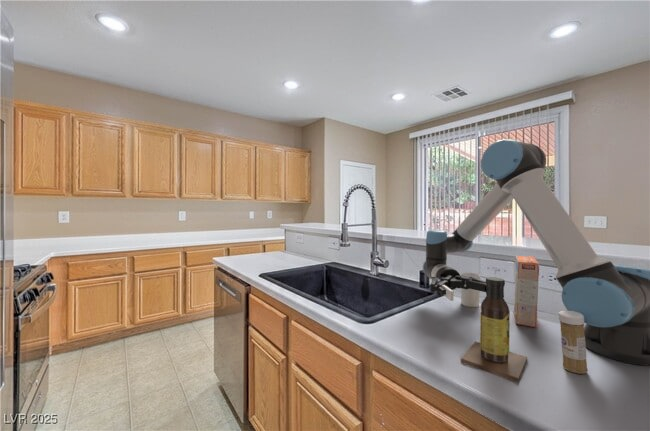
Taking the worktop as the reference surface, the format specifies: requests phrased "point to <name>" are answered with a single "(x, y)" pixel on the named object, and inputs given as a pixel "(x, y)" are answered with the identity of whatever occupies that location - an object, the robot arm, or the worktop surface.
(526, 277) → the cracker box
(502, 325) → the sauce bottle
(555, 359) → the worktop surface
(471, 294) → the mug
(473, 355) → the coaster board
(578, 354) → the sprinkles bottle
